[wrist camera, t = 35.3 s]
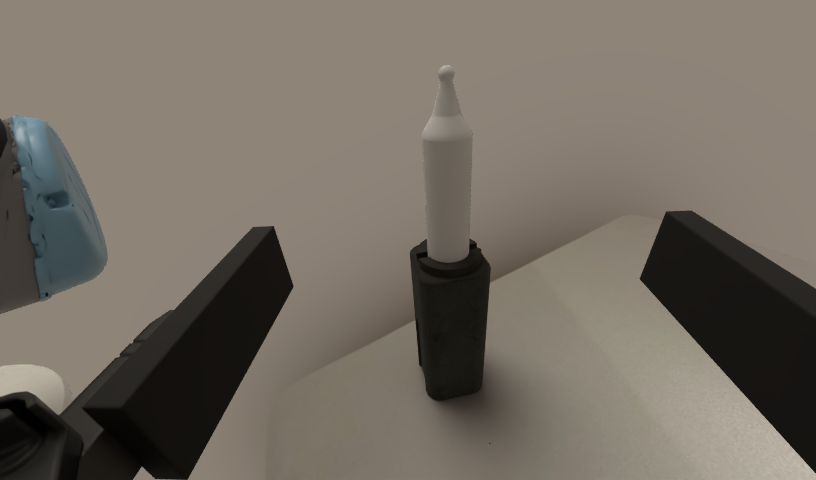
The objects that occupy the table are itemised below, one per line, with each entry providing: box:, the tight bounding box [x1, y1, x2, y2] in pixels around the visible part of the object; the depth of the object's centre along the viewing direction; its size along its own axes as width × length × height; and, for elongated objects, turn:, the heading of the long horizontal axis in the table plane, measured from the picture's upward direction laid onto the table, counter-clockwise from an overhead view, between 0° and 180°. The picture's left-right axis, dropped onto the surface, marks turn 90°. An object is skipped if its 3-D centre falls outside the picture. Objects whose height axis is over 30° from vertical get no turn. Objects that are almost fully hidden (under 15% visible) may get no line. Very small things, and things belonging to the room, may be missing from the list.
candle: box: [410, 65, 491, 400], centre depth 23 cm, size 5×5×25 cm
